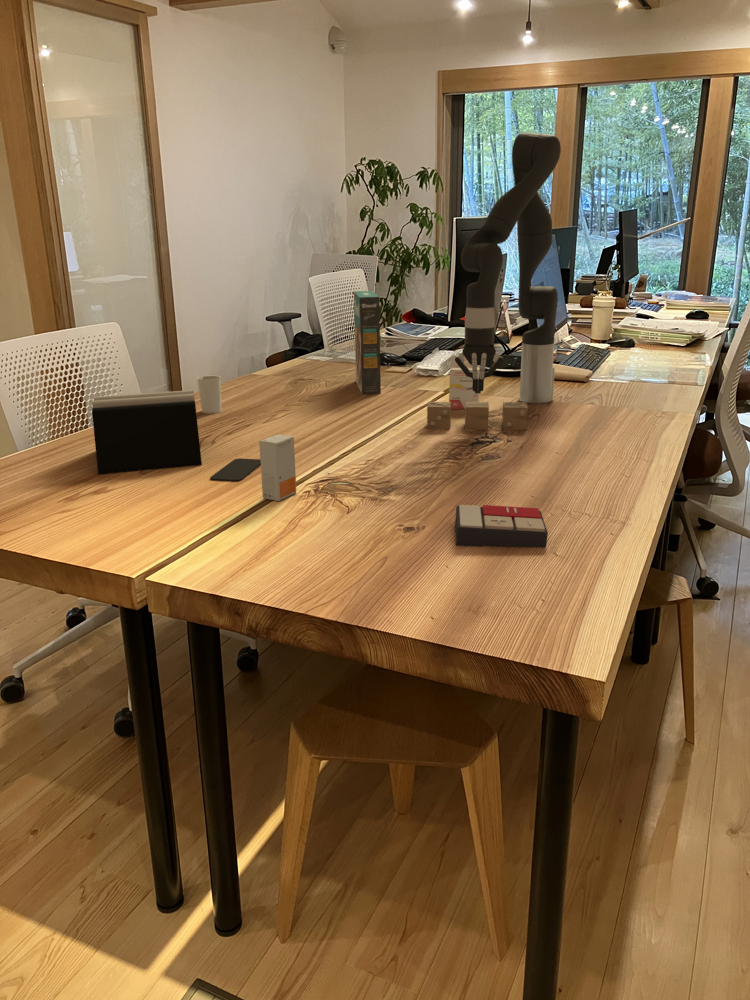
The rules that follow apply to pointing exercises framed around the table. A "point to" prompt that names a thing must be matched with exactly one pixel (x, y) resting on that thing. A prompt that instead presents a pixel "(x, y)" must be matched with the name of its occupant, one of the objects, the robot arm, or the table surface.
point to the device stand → (145, 431)
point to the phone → (236, 470)
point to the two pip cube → (514, 416)
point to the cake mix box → (367, 341)
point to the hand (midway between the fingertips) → (477, 392)
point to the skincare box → (278, 467)
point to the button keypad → (499, 526)
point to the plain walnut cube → (476, 415)
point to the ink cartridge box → (461, 386)
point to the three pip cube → (438, 415)
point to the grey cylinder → (210, 393)
